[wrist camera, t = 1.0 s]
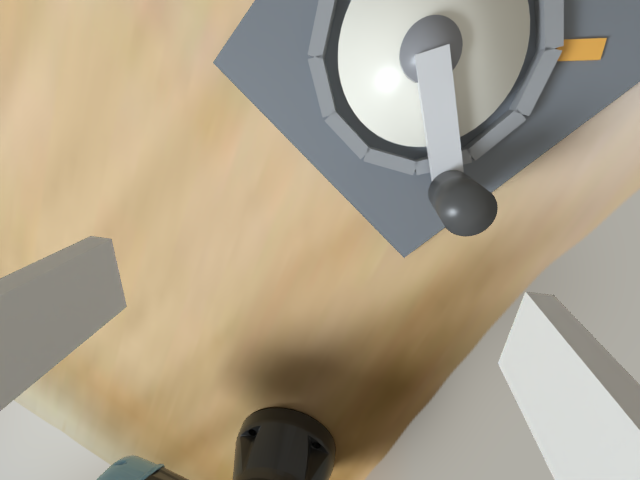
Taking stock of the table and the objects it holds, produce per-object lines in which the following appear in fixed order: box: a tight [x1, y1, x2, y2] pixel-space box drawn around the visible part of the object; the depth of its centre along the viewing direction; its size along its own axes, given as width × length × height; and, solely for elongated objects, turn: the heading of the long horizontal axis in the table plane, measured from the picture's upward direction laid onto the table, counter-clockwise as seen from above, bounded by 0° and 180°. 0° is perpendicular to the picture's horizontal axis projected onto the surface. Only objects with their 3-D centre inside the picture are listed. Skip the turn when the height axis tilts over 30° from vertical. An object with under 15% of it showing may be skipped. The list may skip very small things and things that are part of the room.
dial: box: [338, 0, 530, 236], centre depth 23 cm, size 20×14×8 cm
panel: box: [213, 0, 640, 257], centre depth 25 cm, size 26×26×2 cm
